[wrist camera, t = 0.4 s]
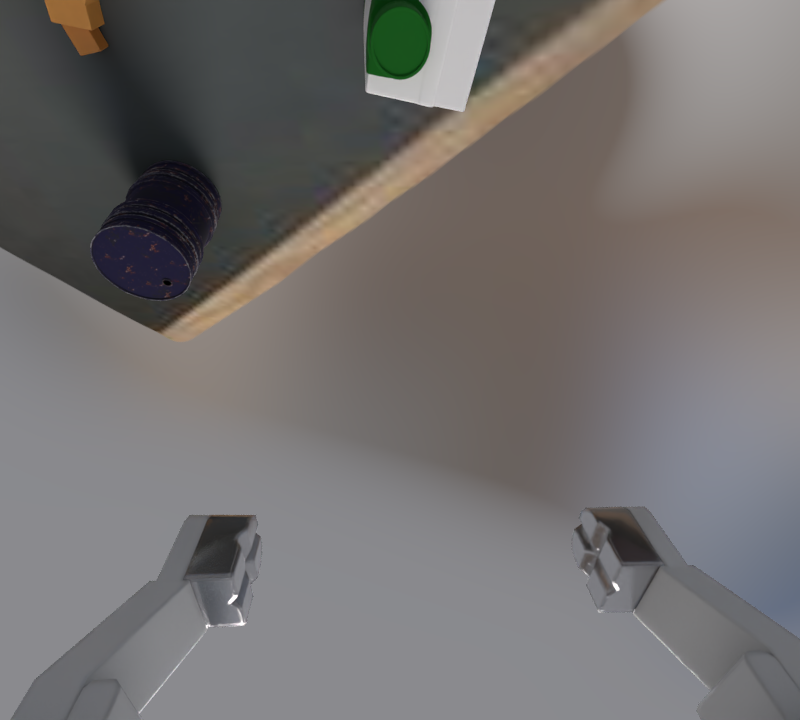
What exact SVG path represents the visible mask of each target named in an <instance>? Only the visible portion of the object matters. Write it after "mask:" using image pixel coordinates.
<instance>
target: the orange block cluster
mask: <svg viewBox="0 0 800 720" xmlns="http://www.w3.org/2000/svg"><path fill="white" fill-rule="evenodd" d="M45 3H46V6H47V10H48V13H49V16H50V19H51V21H52V22H55V23H59V24H61V25H62V26H63V28H64V30H65V31H66V33H67V34H68V36H69V38H70V39H71V41H72V42H73V44H74V46H75V47H76V49H77V50H78V52H79V54H80V55H81V56H84V55H88V54H92V53H96V52H100V51H102V50H104V49H105V48H107V47H108V46H109V45H108V44H107V42H106V40H105V38H104V37H103V35H102V33H101V32H100V30H99V28H98V27H100V26H101V25H103V24H104V19H103V15H102V11H101V7H100V3H99V0H45Z"/></svg>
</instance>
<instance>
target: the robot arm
mask: <svg viewBox="0 0 800 720" xmlns="http://www.w3.org/2000/svg"><path fill="white" fill-rule="evenodd" d="M579 519H580V521H581V523H582V524H581V525H580V526H578V527H577V528H576V529H574V532H573V535H572V551H573V554H574V558H575V561H576V563H577V565H578V568H579V569H581V570H582V571H583V572H584V573H585V574H586V575H588V576H589V577H588V581H587V588H588V590H589V592H590V594H591V596H592V599H593V600H594V603H595V605H596V607H597V609H598V612H634V613H633V615H634V616H635V617H636V618H637V619H639V621H641V623H642V624H643V625H645V626H646V628H647V629H649V630H650V631H651V632H652V633H653V634H654V635H655V636H656V637H657V638H658V639H659V640H660V641H661V642H662V643H663V644H664V645H665V646H666V647H667V648H668V649H669V650H670V651H671V652H672V653H673V654H674V655H675V656H676V657H677V658H678V659H679V660H680V661H681V662H682V663H683V664H684V665H685V666H686V667H687V668H688V669H689V670H690V671H691V672H692V673H693V674H694V675H695V676H696V677H697V678H698V679H699V680H700V681H701V682H702V683H703V684H704V685H705V686H706V687H707V688H708V689H709V690H710V692H709V693H708V694H707V695H706V696H705V697H704V699H703V700H702V701H701V702H700V703H699V704H698V708H697V713H698V715H699V717H700V719H701V720H800V639H799V638H798V637H797V636H795V635H794V634H792V633H791V632H789V631H788V630H786V629H785V628H783V627H782V626H781V625H779V624H778V623H776V622H775V621H773V620H772V619H770V618H769V617H768V616H766V615H765V614H763V613H762V612H760V611H759V610H757V609H756V608H755V607H753V606H752V605H750V604H749V603H747V602H746V601H745V600H743V599H742V598H740V597H739V596H737V595H736V594H734V593H733V592H732V591H730V590H729V589H727V588H725V587H724V586H723V585H721V584H720V583H719V582H717V581H716V580H714V579H713V578H711V577H710V576H708V575H707V574H706V573H704V572H702V571H701V570H700V569H698V568H697V567H695V566H693V565H687V564H686V562H685V561H684V559H683V558H682V556H681V555H680V553H679V552H678V551H677V549H676V548H675V546H674V545H673V544H672V542H671V541H670V539H669V538H668V536H667V535H666V534H665V532H664V531H663V530H662V528H661V526H660V525H659V524H658V522H657V521H656V519H655V518H654V516H653V515H652V514H651V512H650V511H649V510H648V509H647V508H645V507H598V508H597V507H596V508H585V509H584V510H582V511H581V514H580V516H579ZM257 526H258V522H257V519H256V515H190V516H189V517H188V518H187V519H186V520H185V521H184V523H183V525H182V527H181V529H180V531H179V534H178V536H177V538H176V540H175V542H174V544H173V547H172V549H171V551H170V553H169V555H168V557H167V559H166V561H165V564H164V566H163V568H162V570H161V572H160V574H159V576H158V579H157V581H149V582H148V583H147V584H146V585H145V586H144V587H142V588H141V589H140V590H139V591H138V592H136V593H135V594H134V595H133V596H132V597H131V598H129V599H128V600H127V601H126V602H125V603H124V604H122V605H121V606H120V607H119V608H118V609H117V610H116V611H114V612H113V613H112V614H111V615H110V616H108V617H107V618H106V619H105V620H104V621H103V622H101V624H99V625H98V626H97V627H96V628H94V629H93V630H92V631H91V632H90V633H89V634H87V635H86V636H85V637H84V638H83V639H82V640H80V641H79V642H78V643H77V644H76V645H75V646H73V647H72V648H71V649H70V650H69V651H68V652H66V653H65V654H64V655H63V656H62V657H61V658H59V659H58V660H57V661H56V662H55V663H54V664H53V665H51V666H50V667H49V668H48V669H47V670H45V671H44V672H43V673H42V674H41V675H40V676H38V677H37V678H36V679H35V680H34V682H33V683H32V685H31V687H30V688H29V690H28V692H27V693H26V695H25V697H24V698H23V700H22V701H21V703H20V705H19V707H18V708H17V710H16V711H15V713H14V715H13V717H12V718H11V720H143V719H142V718H141V716H140V714H139V713H140V712H141V711H142V710H143V709H144V707H145V706H146V705H147V704H148V702H149V701H150V700H151V699H152V698H153V696H154V695H155V694H156V693H157V691H158V690H159V689H160V688H161V686H162V685H163V684H164V683H165V682H166V680H167V679H168V678H169V677H170V675H171V674H172V673H173V672H174V671H175V669H176V668H177V667H178V666H179V664H180V663H181V662H182V661H183V659H184V658H185V657H186V656H187V654H188V653H189V652H190V651H191V650H192V648H193V647H194V646H195V645H196V643H197V642H198V641H199V640H200V639H201V637H202V636H203V635H204V634H205V632H206V631H207V628H211V627H226V626H241V625H246V622H247V618H248V614H249V610H250V606H251V602H252V598H253V593H252V589H251V584H252V583H253V582H254V581H255V580H256V579H257V577H258V574H259V569H260V565H261V557H262V542H261V537H260V536H259V535H258V534H257V533H256V530H257Z"/></svg>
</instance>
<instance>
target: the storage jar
mask: <svg viewBox="0 0 800 720" xmlns="http://www.w3.org/2000/svg"><path fill="white" fill-rule="evenodd" d="M221 209H222V205H221V199H220V196H219V194H218V191H217V190H216V188H215V186H214V185H213V184H212V182H211V181H210V180H209V179H208V178H207V177H206V176H205V175H204V174H203V173H201V172H200V171H199V170H197V169H195V168H194V167H192V166H190V165H188V164H185V163H182V162H178V161H170V160H167V161H160V162H156V163H154V164H152V165H151V166H150V167H148V168H147V169H146V171H145V172H144V173H143V174H142V175H141V176H140V177H139V178H138V179H137V180H136V182H135V183H134V184H133V185H132V186H131V187H130V189H129V191H128V193H127V196H126V200H125V202H123V203H121V204H120V205H118V206H117V207H116V208H114V209H113V211H112V212H111V213H110V215H109V216H108V217H107V219H106V220H105V221H104V223H103V224H102V227H101V229H100V230H99V231H98V233H97V234H96V235H95V237H94V238H93V240H92V242H91V247H90V251H91V257H92V260H93V262H94V264H95V266H96V268H97V269H98V270H99V272H100V273H101V274H102V275H103V276H104V277H105V278H106V279H107V280H108V281H109V282H110V283H112V284H113V285H115V286H116V287H117V288H119V289H121V290H123V291H124V292H126V293H129V294H131V295H133V296H136V297H139V298H143V299H147V300H156V301H163V300H170V299H174V298H176V297H179V296H180V295H182V294H183V293H184V292H185V291H186V290H187V289H188V287H189V285H190V283H191V280H192V278H193V277H194V276H195V274H196V272H197V270H198V268H199V265H200V263H201V261H202V258H203V251H204V247H205V246H206V245H207V244H208V242H209V241H210V240H211V238H212V236H213V233H214V231H215V229H216V226H217V223H218V220H219V217H220V214H221Z"/></svg>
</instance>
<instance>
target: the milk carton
mask: <svg viewBox="0 0 800 720" xmlns="http://www.w3.org/2000/svg"><path fill="white" fill-rule="evenodd" d="M494 3H495V0H364V58H365V90H366V92H367V93H371V94H376V95H380V96H385V97H389V98H394V99H398V100H403V101H407V102H412V103H417V104H419V105H423V106H428V107H433V106H437V107H441V108H446V109H451V110H456V111H461V112H464V110H465V106H466V103H467V99H468V96H469V92H470V89H471V85H472V82H473V78H474V75H475V71H476V67H477V64H478V60H479V57H480V53H481V50H482V46H483V43H484V39H485V35H486V32H487V28H488V25H489V21H490V18H491V14H492V11H493V7H494Z"/></svg>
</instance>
